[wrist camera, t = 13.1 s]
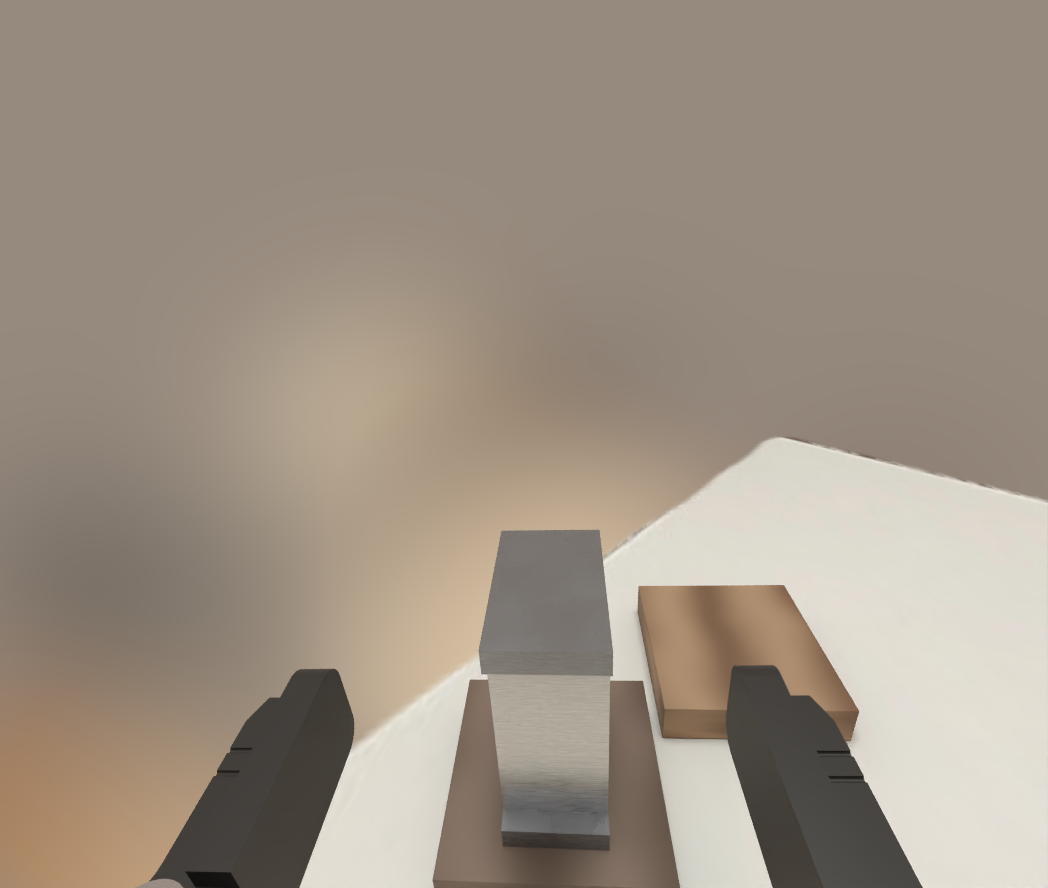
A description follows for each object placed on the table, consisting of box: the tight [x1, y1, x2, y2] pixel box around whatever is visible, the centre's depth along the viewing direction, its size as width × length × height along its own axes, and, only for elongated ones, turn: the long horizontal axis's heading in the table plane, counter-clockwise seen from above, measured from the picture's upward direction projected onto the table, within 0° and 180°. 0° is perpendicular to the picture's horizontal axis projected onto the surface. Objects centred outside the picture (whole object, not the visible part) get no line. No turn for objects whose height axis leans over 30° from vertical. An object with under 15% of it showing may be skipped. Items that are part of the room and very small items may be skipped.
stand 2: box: [638, 585, 859, 741], centre depth 36 cm, size 11×11×2 cm
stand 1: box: [433, 680, 680, 888], centre depth 29 cm, size 11×11×2 cm
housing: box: [479, 530, 613, 851], centre depth 26 cm, size 5×8×12 cm, turn 176°
